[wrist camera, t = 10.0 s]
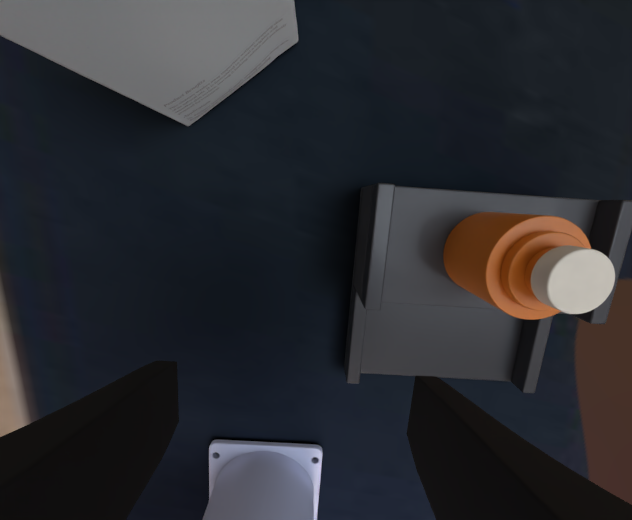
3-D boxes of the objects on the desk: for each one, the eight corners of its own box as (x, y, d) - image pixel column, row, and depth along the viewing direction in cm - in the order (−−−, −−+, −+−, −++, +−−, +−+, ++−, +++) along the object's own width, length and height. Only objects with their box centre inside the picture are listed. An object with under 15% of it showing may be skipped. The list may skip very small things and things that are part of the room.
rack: (516, 377, 20) (576, 430, 16) (343, 367, 20) (353, 418, 15) (555, 201, 18) (640, 201, 13) (360, 187, 18) (378, 182, 13)
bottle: (514, 293, 15) (626, 344, 10) (437, 288, 15) (506, 337, 10) (531, 214, 15) (662, 222, 9) (449, 209, 14) (532, 214, 9)
